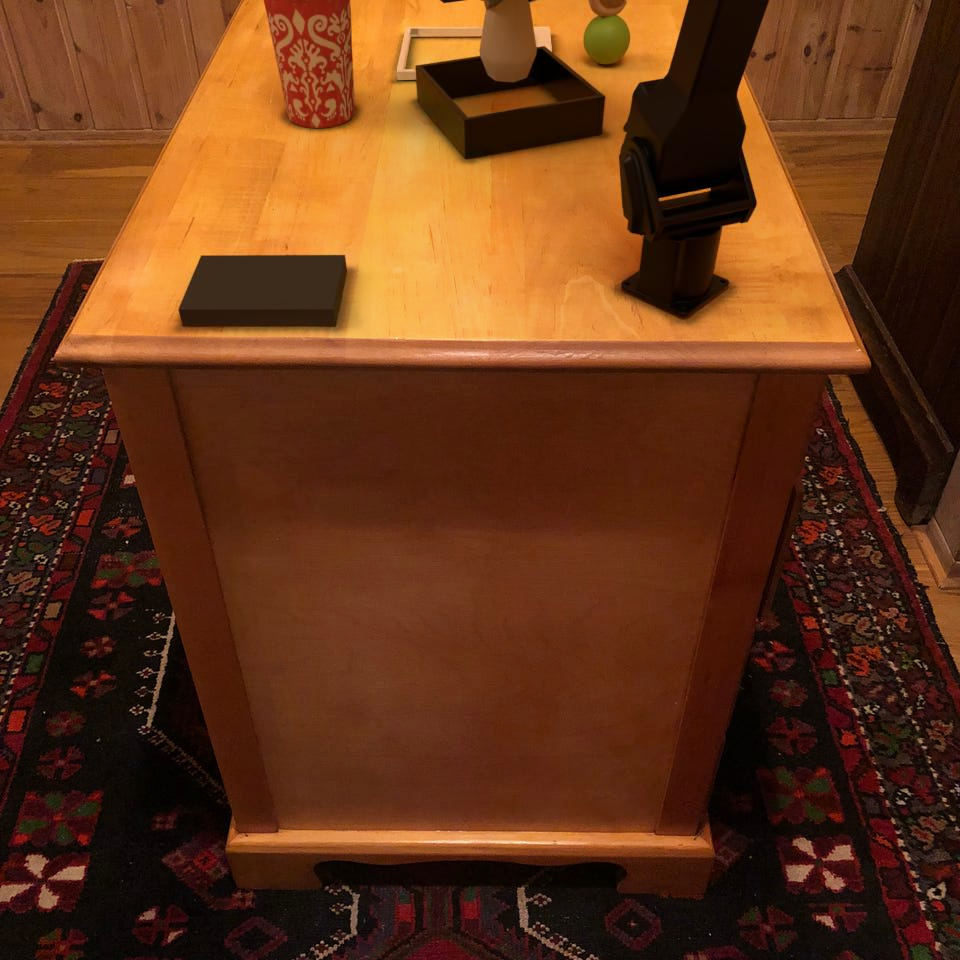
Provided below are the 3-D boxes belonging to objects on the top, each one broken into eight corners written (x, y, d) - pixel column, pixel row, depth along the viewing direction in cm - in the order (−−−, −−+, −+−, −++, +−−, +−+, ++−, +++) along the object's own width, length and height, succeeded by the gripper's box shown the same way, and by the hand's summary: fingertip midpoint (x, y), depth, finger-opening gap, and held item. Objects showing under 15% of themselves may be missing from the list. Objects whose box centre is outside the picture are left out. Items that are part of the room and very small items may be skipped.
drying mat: (336, 326, 74) (333, 308, 73) (182, 326, 74) (177, 309, 73) (347, 271, 80) (345, 254, 79) (204, 271, 80) (200, 255, 79)
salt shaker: (530, 87, 96) (534, -57, 87) (475, 83, 97) (472, -59, 88) (539, 66, 100) (543, -73, 91) (486, 63, 101) (485, -75, 92)
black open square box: (602, 134, 98) (605, 96, 96) (465, 159, 94) (464, 120, 92) (543, 81, 109) (544, 45, 106) (417, 102, 105) (415, 65, 102)
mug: (358, 133, 99) (344, -6, 90) (272, 132, 99) (249, -6, 90) (373, 86, 108) (361, -45, 99) (294, 85, 109) (275, -45, 99)
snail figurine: (566, 62, 113) (571, -50, 104) (608, 51, 115) (617, -59, 107) (594, 77, 110) (602, -37, 101) (637, 65, 112) (648, -48, 104)
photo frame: (554, 69, 108) (396, 69, 108) (553, 79, 109) (397, 79, 109) (549, 24, 118) (405, 25, 119) (549, 34, 119) (406, 34, 120)
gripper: (627, -201, 82) (567, -85, 97) (422, -184, 77) (392, -65, 92) (661, -77, 82) (595, 20, 97) (458, -52, 77) (423, 45, 92)
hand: (503, 2), depth 95 cm, fingers closed on salt shaker, 3 cm apart
